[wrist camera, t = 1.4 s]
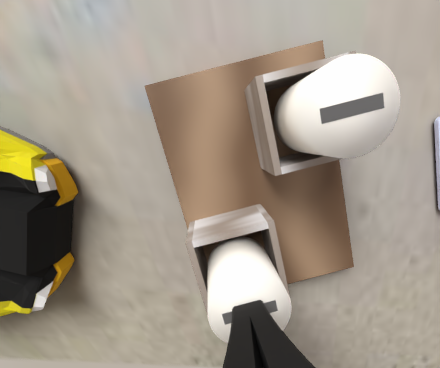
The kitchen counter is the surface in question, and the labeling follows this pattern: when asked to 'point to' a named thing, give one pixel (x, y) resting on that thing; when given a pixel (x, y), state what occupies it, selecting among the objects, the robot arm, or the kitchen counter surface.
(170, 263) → the kitchen counter surface
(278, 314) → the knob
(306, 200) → the knob board
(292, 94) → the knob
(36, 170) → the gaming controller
